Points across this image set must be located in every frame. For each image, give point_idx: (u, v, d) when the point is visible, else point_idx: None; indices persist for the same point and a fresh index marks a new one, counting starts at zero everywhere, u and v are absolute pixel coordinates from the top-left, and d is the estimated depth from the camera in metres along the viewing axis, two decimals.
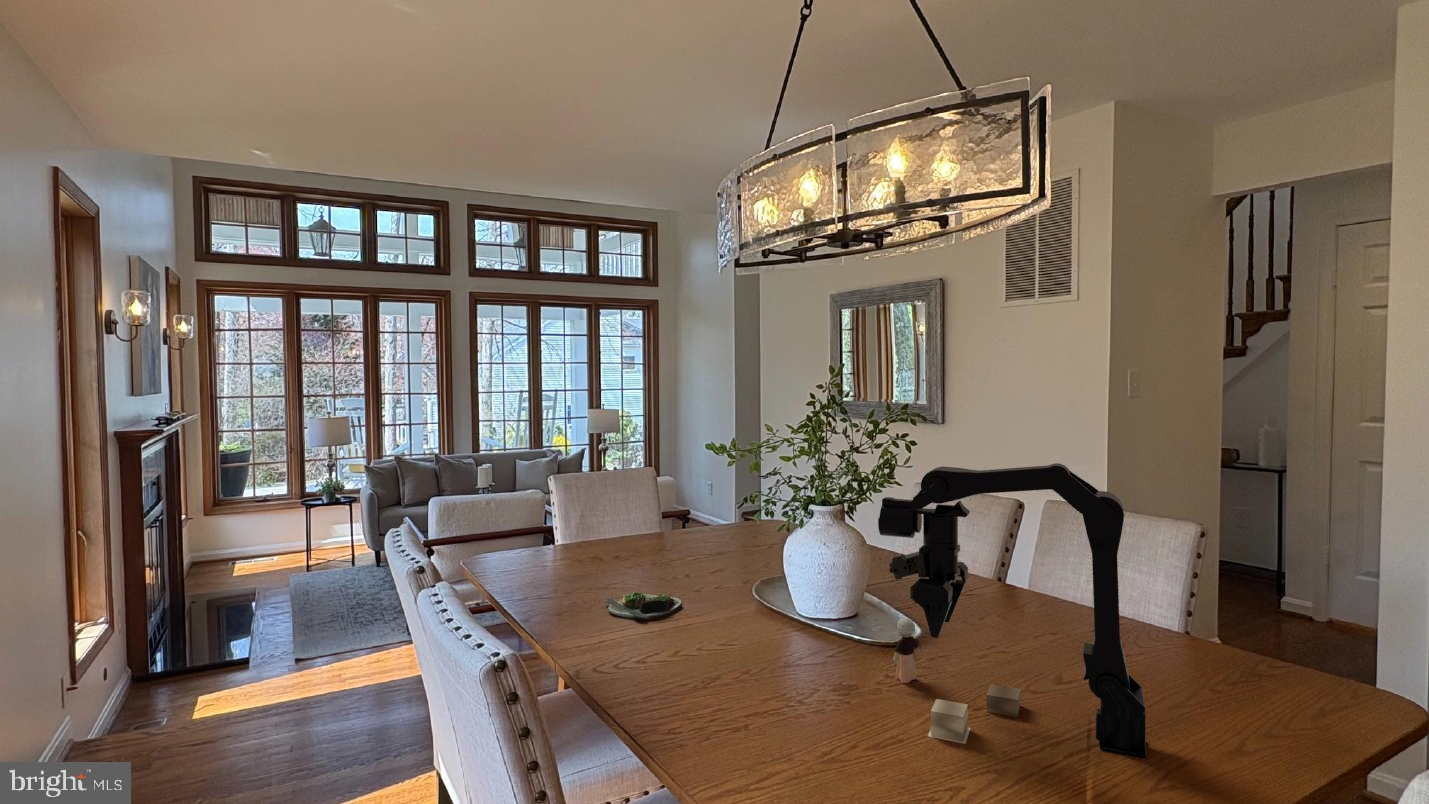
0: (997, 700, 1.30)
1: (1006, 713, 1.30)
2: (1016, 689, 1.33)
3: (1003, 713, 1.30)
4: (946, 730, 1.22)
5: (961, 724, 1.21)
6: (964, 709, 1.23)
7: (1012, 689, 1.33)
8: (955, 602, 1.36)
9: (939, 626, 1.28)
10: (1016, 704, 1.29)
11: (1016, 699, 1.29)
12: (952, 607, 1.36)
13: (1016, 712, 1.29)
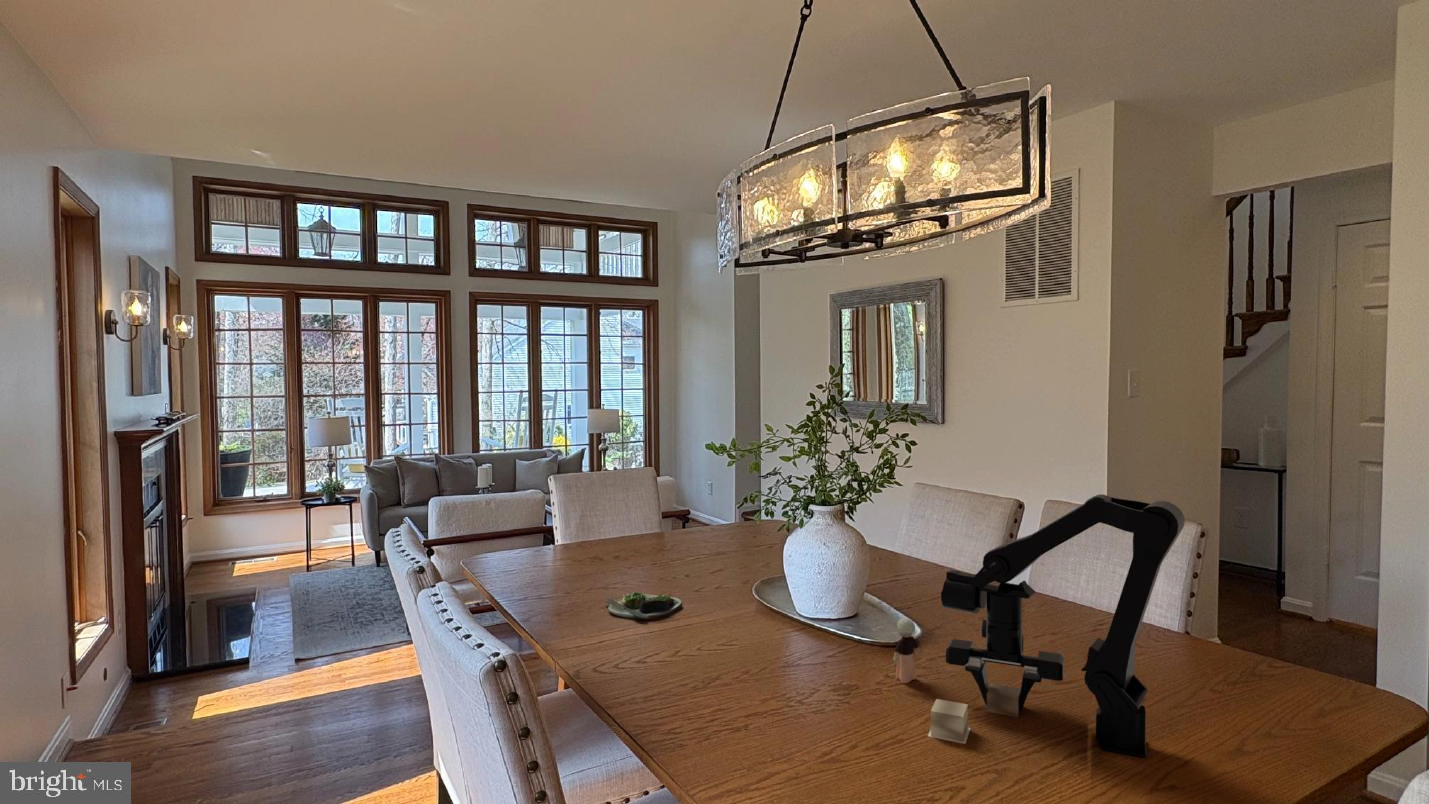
0: (997, 699, 1.30)
1: (1006, 712, 1.30)
2: (1016, 688, 1.33)
3: (1003, 712, 1.30)
4: (946, 730, 1.22)
5: (961, 724, 1.21)
6: (964, 709, 1.23)
7: (1012, 688, 1.33)
8: (1020, 693, 1.30)
9: None
10: (1016, 703, 1.29)
11: (1016, 698, 1.29)
12: None
13: (1016, 711, 1.29)
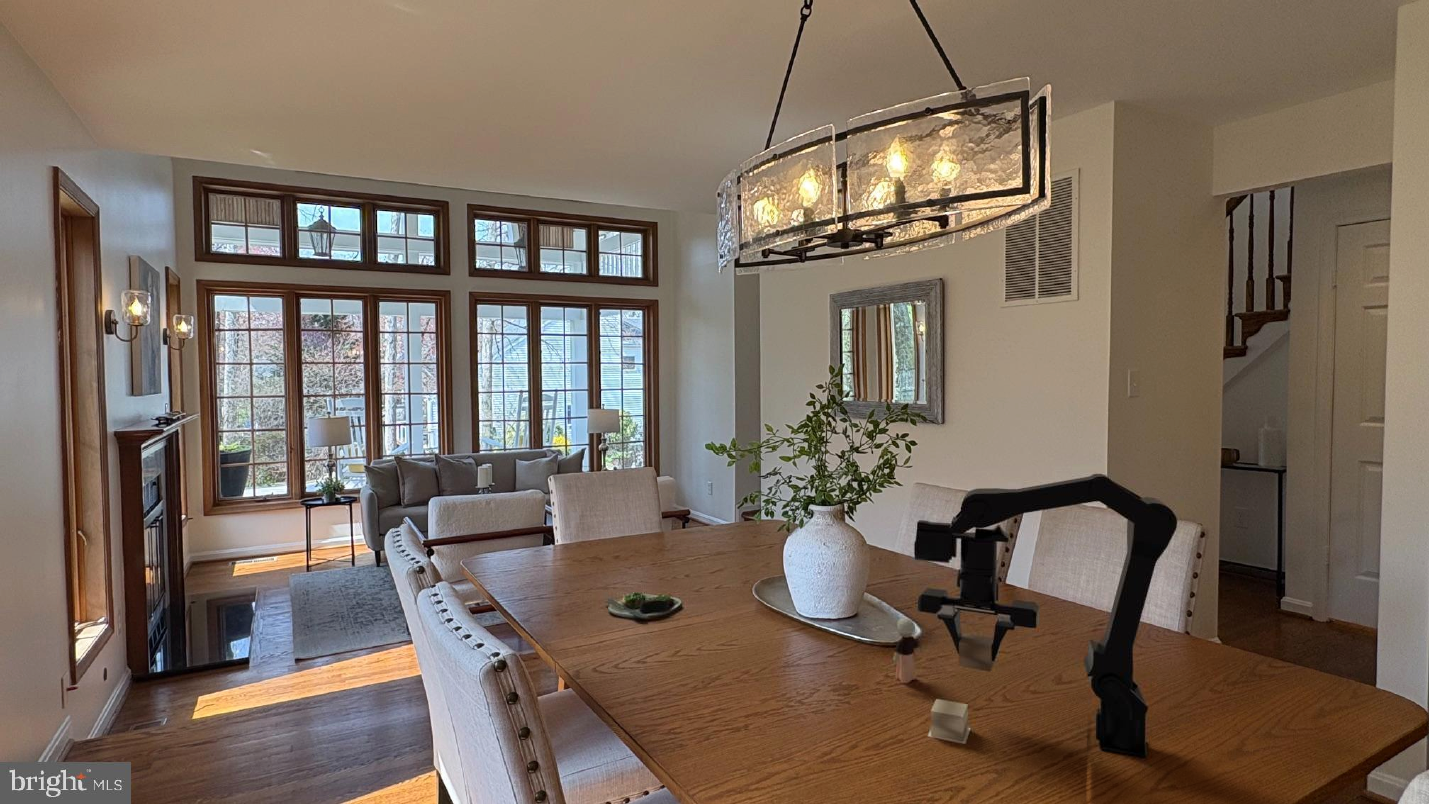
0: (969, 647, 1.26)
1: (978, 661, 1.26)
2: (990, 638, 1.29)
3: (975, 661, 1.26)
4: (946, 730, 1.22)
5: (961, 724, 1.21)
6: (964, 709, 1.23)
7: (987, 638, 1.29)
8: (993, 641, 1.25)
9: (954, 642, 1.29)
10: (989, 652, 1.25)
11: (989, 647, 1.25)
12: None
13: (989, 660, 1.25)
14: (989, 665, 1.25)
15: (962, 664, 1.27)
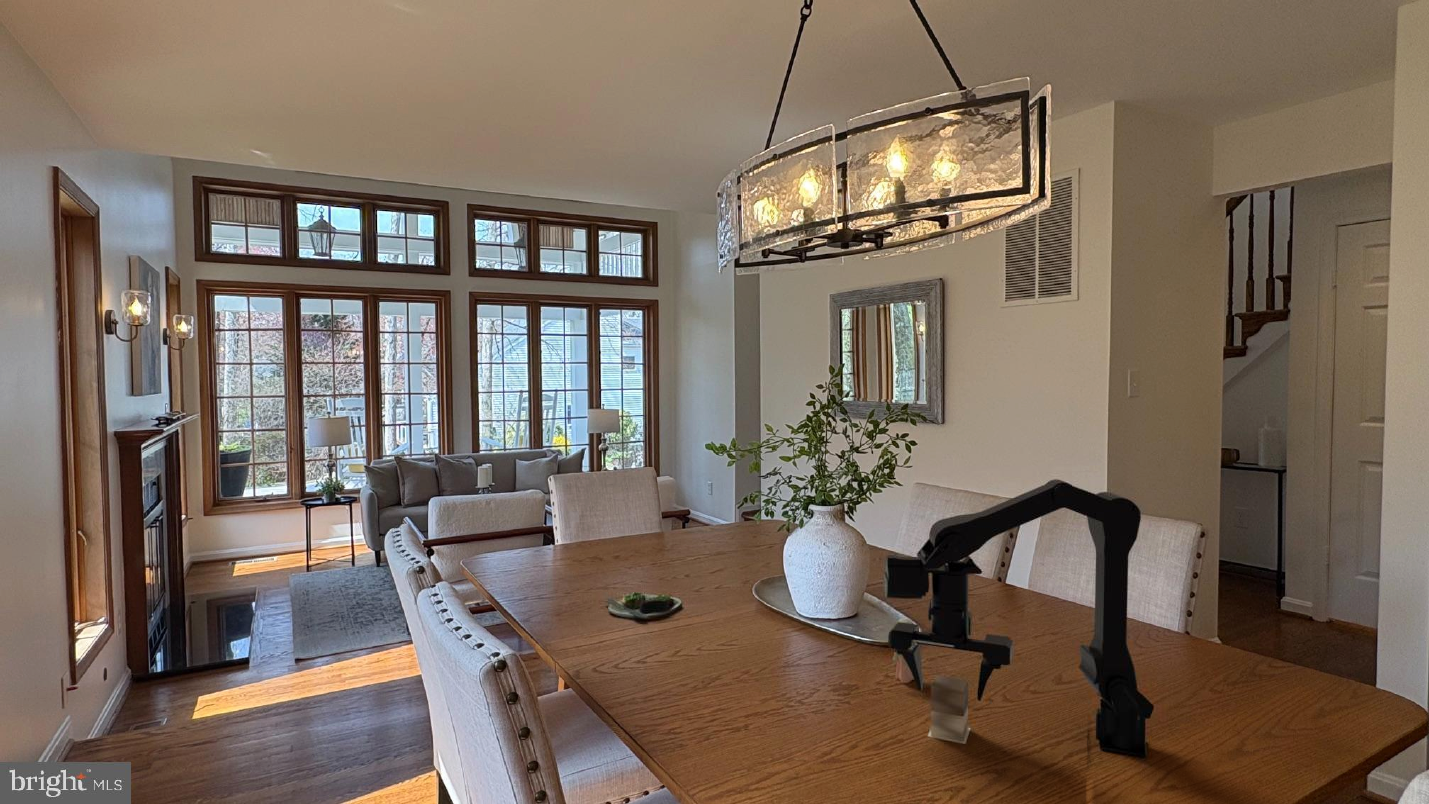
0: (941, 691, 1.22)
1: (951, 706, 1.21)
2: (963, 680, 1.25)
3: (948, 706, 1.21)
4: (946, 730, 1.22)
5: (961, 724, 1.21)
6: None
7: (960, 680, 1.25)
8: (979, 681, 1.20)
9: (914, 677, 1.25)
10: (962, 696, 1.20)
11: (962, 691, 1.21)
12: None
13: (962, 705, 1.20)
14: (962, 710, 1.20)
15: (934, 709, 1.22)
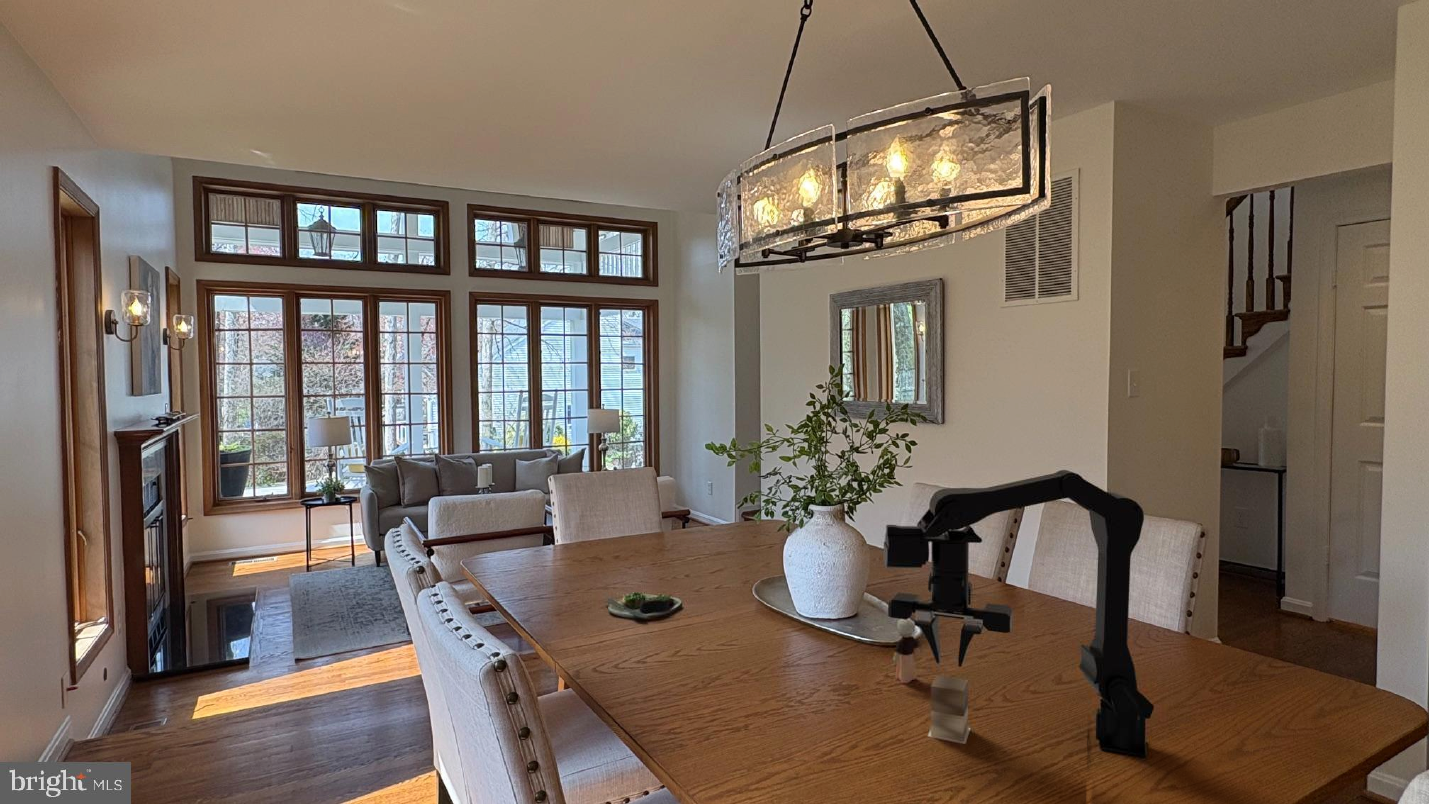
0: (941, 691, 1.22)
1: (951, 706, 1.21)
2: (963, 680, 1.25)
3: (948, 706, 1.21)
4: (946, 730, 1.22)
5: (961, 724, 1.21)
6: None
7: (960, 680, 1.25)
8: None
9: (932, 649, 1.24)
10: (962, 696, 1.20)
11: (962, 691, 1.21)
12: (959, 651, 1.22)
13: (962, 705, 1.20)
14: (962, 710, 1.20)
15: (934, 709, 1.22)
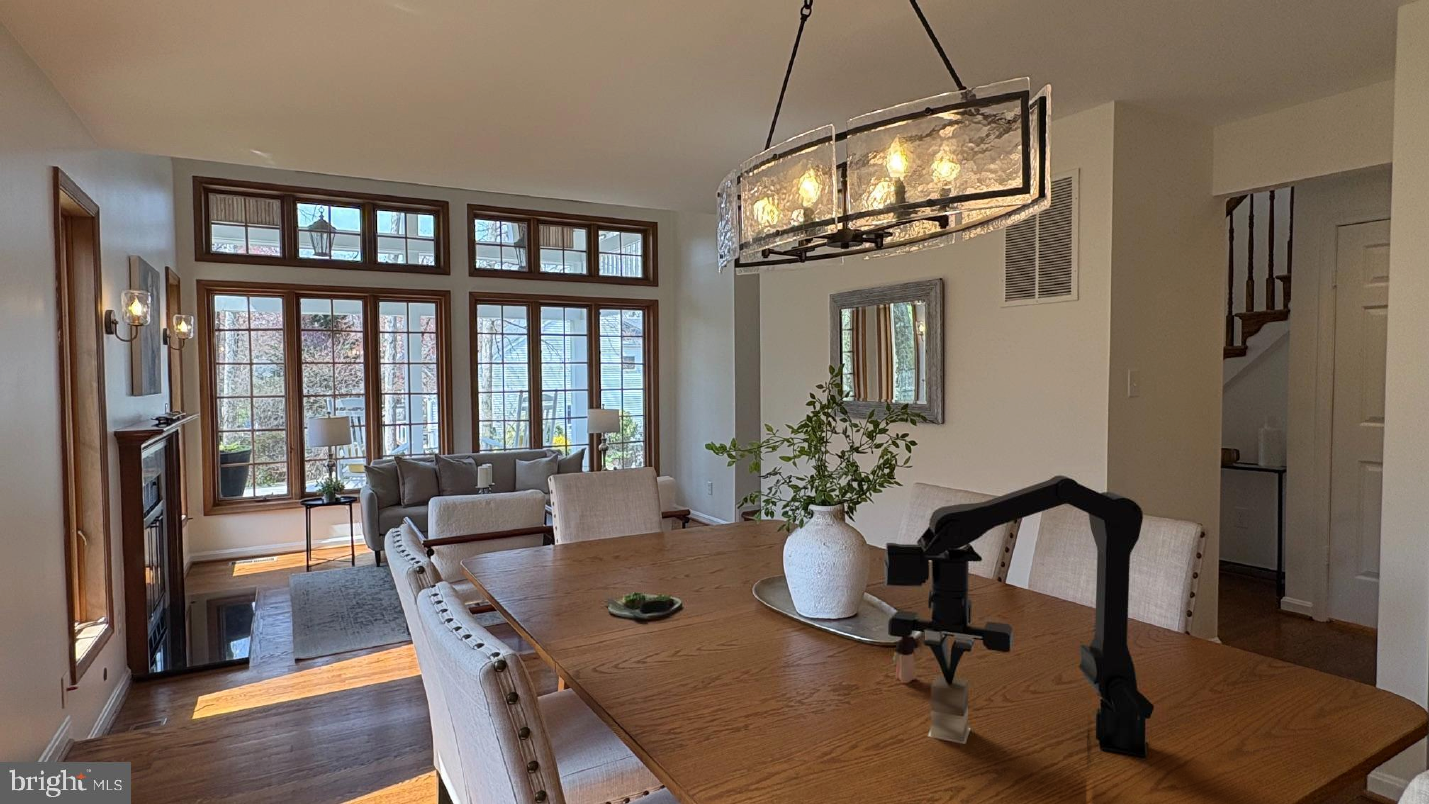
0: (941, 691, 1.22)
1: (951, 706, 1.21)
2: (963, 680, 1.25)
3: (948, 706, 1.21)
4: (946, 730, 1.22)
5: (961, 724, 1.21)
6: None
7: (960, 680, 1.25)
8: (950, 663, 1.22)
9: (941, 669, 1.23)
10: (962, 696, 1.20)
11: (962, 691, 1.21)
12: None
13: (962, 705, 1.20)
14: (962, 710, 1.20)
15: (934, 709, 1.22)
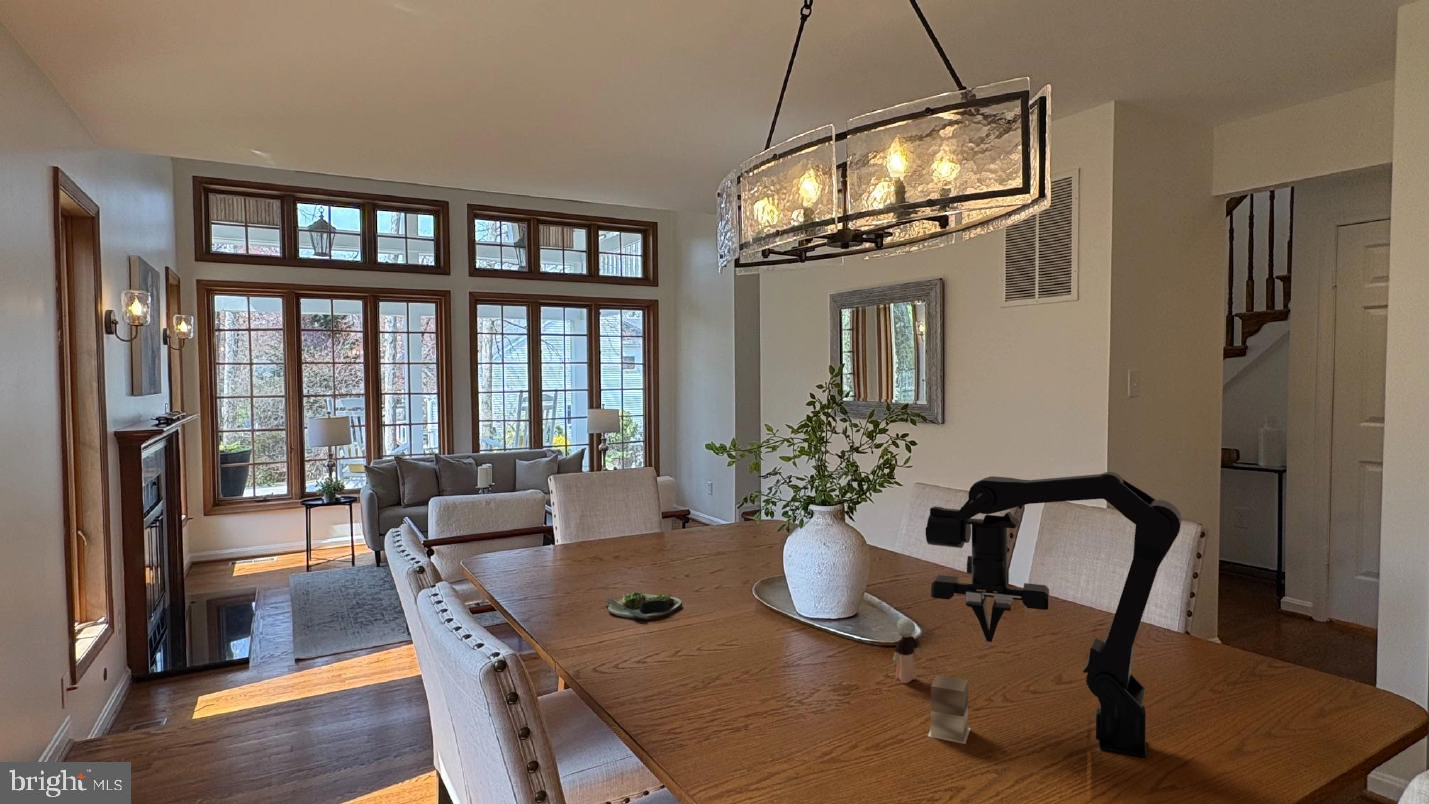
0: (941, 691, 1.22)
1: (951, 706, 1.21)
2: (963, 680, 1.25)
3: (948, 706, 1.21)
4: (946, 730, 1.22)
5: (961, 724, 1.21)
6: None
7: (960, 680, 1.25)
8: None
9: (982, 629, 1.31)
10: (962, 696, 1.20)
11: (962, 691, 1.21)
12: None
13: (962, 705, 1.20)
14: (962, 710, 1.20)
15: (934, 709, 1.22)
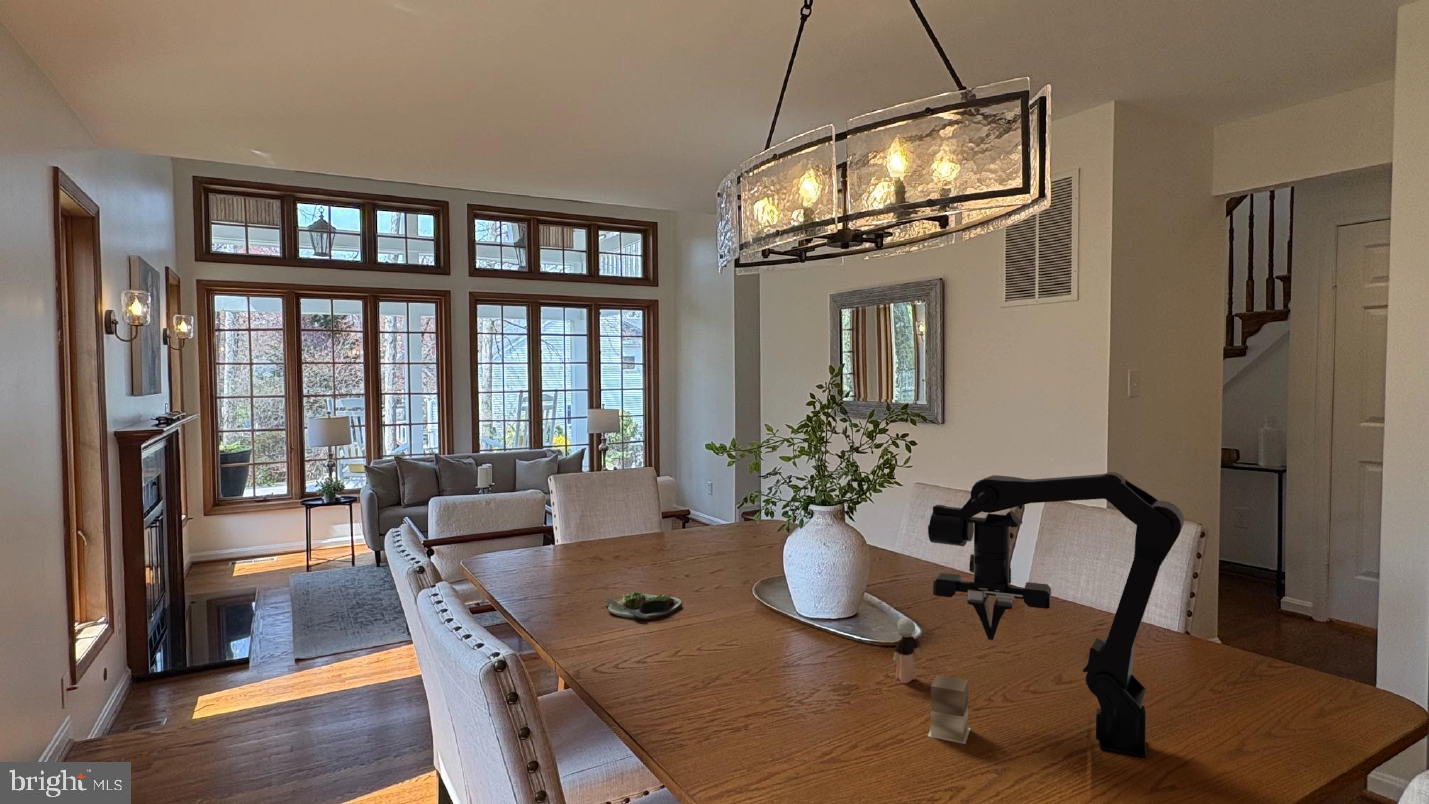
0: (941, 691, 1.22)
1: (951, 706, 1.21)
2: (963, 680, 1.25)
3: (948, 706, 1.21)
4: (946, 730, 1.22)
5: (961, 724, 1.21)
6: None
7: (960, 680, 1.25)
8: None
9: None
10: (962, 696, 1.20)
11: (962, 691, 1.21)
12: (991, 625, 1.31)
13: (962, 705, 1.20)
14: (962, 710, 1.20)
15: (934, 709, 1.22)
